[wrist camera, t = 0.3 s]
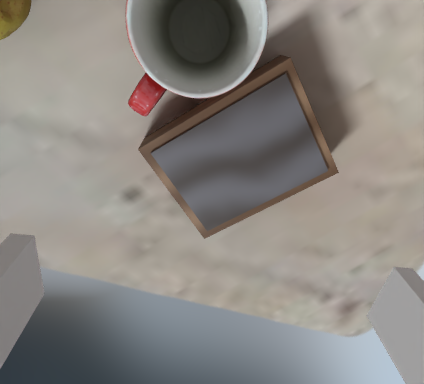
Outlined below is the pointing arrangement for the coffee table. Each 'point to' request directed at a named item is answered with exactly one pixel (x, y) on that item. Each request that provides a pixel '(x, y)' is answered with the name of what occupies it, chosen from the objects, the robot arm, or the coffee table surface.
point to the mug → (193, 46)
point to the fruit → (12, 15)
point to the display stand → (241, 149)
